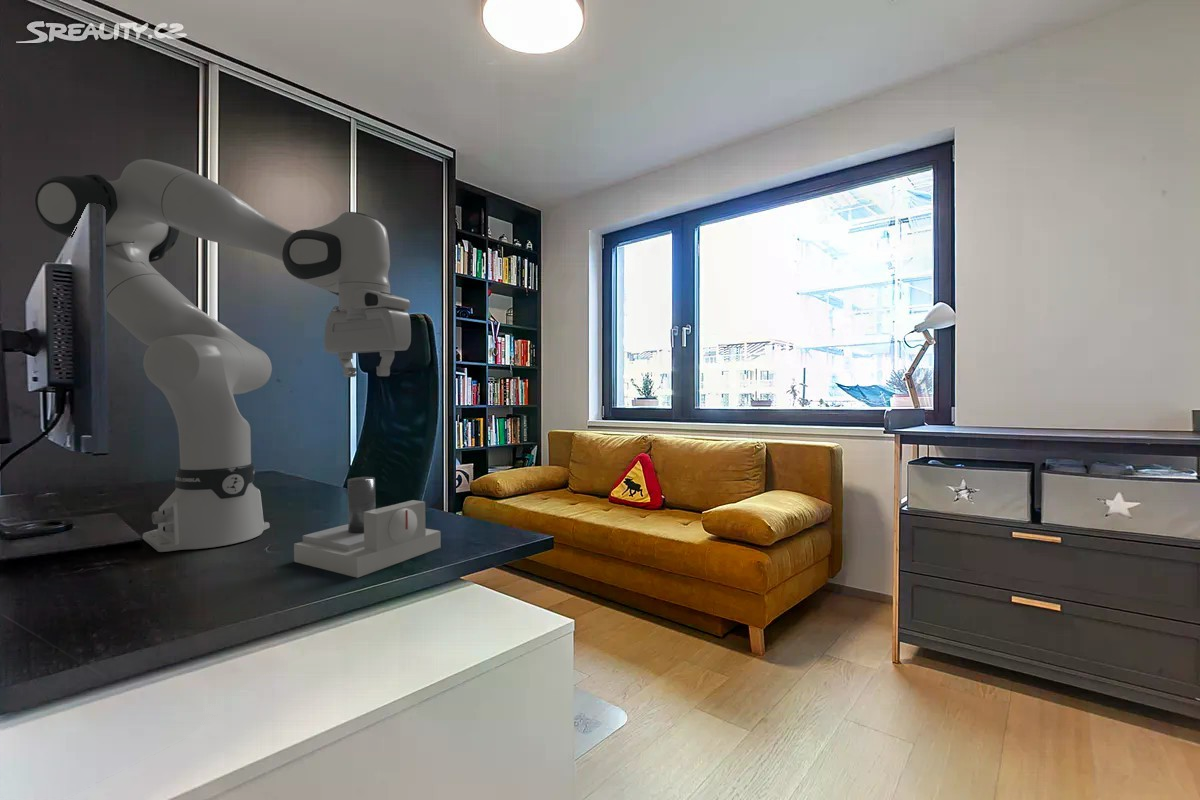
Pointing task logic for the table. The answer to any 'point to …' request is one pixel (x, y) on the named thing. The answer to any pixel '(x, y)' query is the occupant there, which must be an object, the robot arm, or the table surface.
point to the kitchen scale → (371, 541)
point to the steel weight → (360, 501)
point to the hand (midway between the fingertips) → (366, 376)
